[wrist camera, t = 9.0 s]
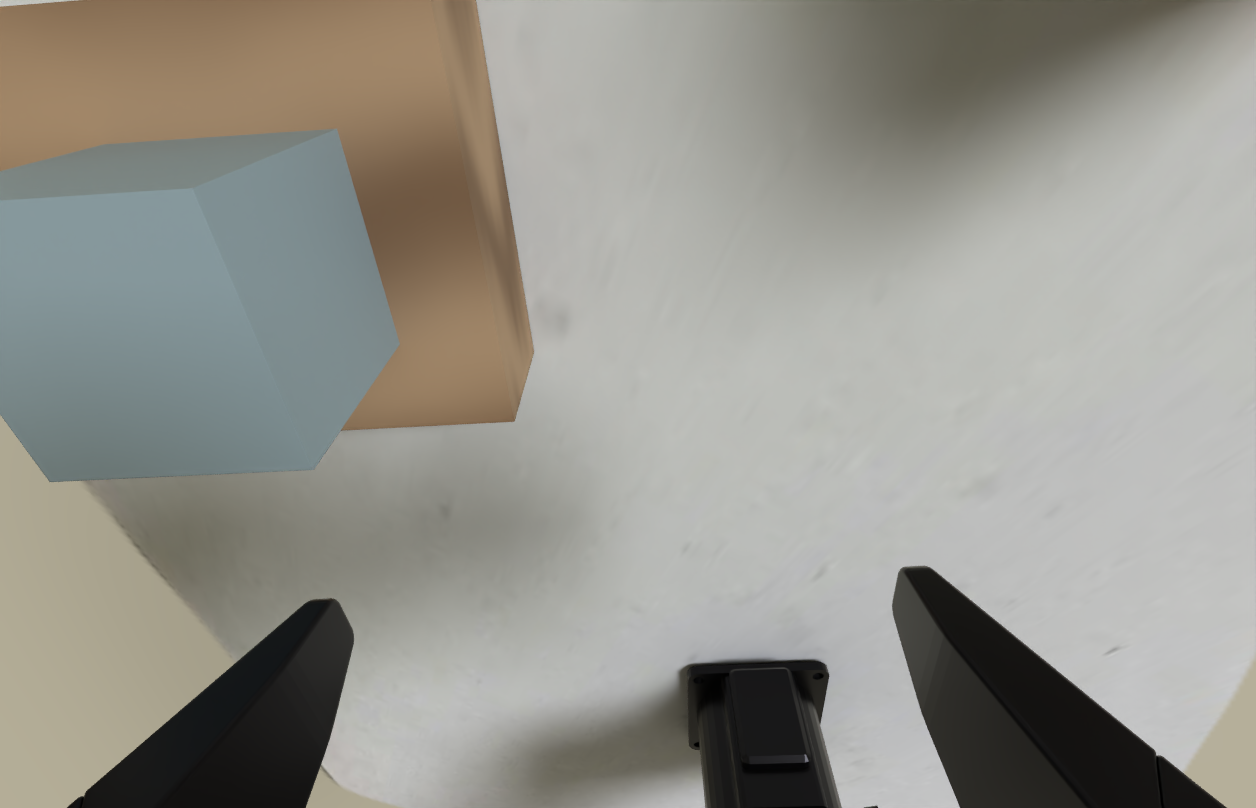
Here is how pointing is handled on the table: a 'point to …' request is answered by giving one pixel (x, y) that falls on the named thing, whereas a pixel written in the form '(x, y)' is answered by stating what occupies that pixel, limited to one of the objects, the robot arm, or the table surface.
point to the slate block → (187, 306)
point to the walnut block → (316, 100)
